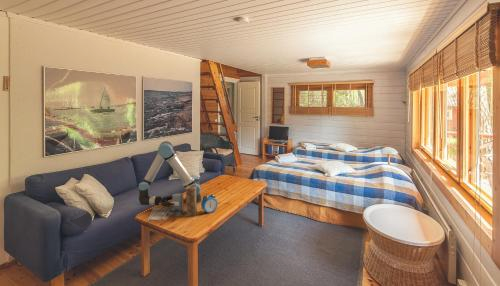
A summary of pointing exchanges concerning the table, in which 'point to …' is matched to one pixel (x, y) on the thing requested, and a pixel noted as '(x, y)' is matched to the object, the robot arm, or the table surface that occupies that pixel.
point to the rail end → (178, 200)
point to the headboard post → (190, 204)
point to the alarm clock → (209, 203)
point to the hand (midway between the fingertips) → (180, 200)
